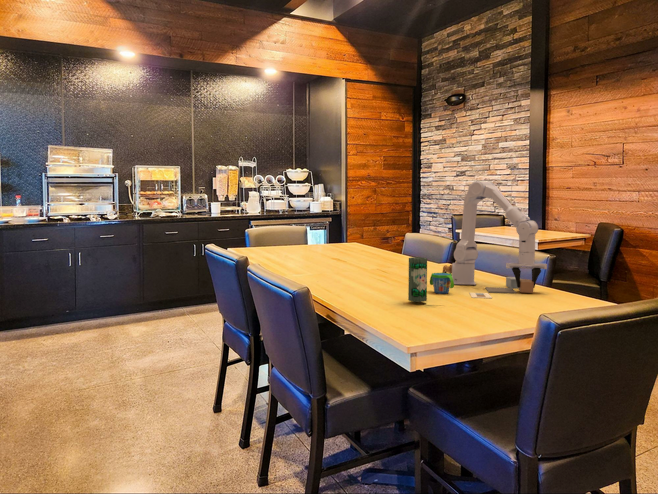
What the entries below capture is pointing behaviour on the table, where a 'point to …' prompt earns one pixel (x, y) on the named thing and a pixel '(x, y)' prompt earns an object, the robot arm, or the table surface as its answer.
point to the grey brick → (511, 282)
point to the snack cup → (441, 282)
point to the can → (417, 279)
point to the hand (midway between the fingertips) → (525, 287)
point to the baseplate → (500, 290)
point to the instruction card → (480, 295)
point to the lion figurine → (447, 269)
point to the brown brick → (526, 286)
